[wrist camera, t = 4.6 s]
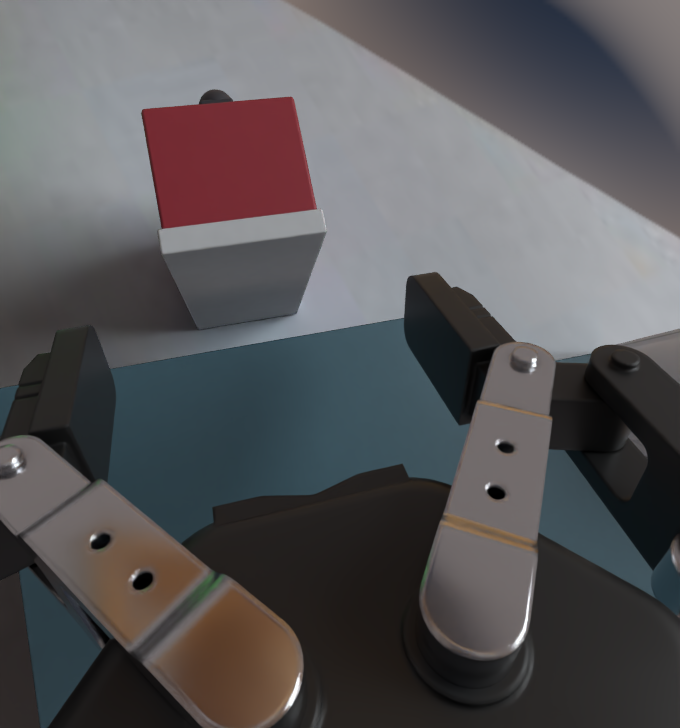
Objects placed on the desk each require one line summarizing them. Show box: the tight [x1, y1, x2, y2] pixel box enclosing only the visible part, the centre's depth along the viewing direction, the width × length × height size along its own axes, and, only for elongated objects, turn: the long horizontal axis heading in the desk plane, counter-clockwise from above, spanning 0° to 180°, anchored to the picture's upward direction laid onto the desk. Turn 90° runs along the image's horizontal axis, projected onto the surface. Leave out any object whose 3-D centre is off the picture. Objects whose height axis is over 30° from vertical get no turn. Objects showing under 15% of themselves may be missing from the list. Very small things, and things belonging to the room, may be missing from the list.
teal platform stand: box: [0, 318, 656, 728], centre depth 20 cm, size 20×14×6 cm
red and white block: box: [141, 90, 327, 330], centre depth 19 cm, size 4×6×10 cm
